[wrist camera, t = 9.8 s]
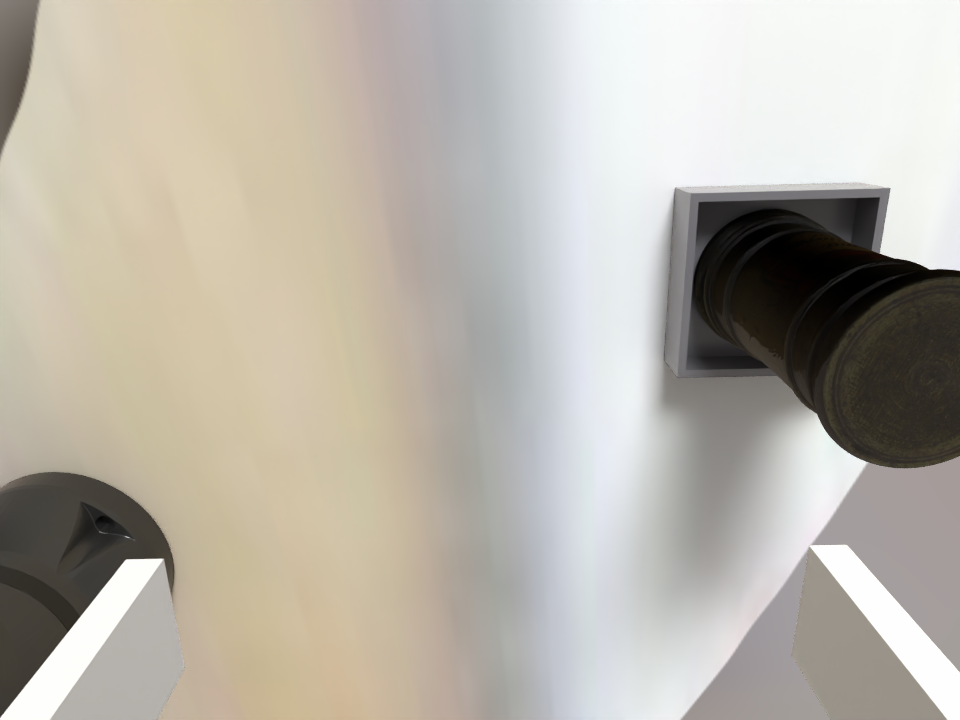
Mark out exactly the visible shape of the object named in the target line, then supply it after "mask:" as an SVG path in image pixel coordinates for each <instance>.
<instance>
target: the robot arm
mask: <svg viewBox="0 0 960 720" xmlns="http://www.w3.org/2000/svg"><path fill="white" fill-rule="evenodd" d="M173 576H174V569H173V560H172V555H171V551H170V548H169V546H168V543H167V541H166V539H165V537H164V535H163V533H162V531H161V530H160V528H159V526H158V525H157V524H156V522H155V521H154V520H153V519H152V517H151V516H150V515H149V514H148V513H147V512H146V511H145V510H144V509H143V508H142V507H141V506H140V505H139V504H138V503H137V502H135V501H134V500H133V499H131V498H130V497H129V496H127V495H126V494H124V493H123V492H121V491H119V490H118V489H116V488H114V487H112V486H110V485H108V484H106V483H103V482H101V481H99V480H96V479H93V478H89V477H86V476H82V475H77V474H71V473H61V472H48V473H38V474H33V475H28V476H25V477H22V478H19V479H16V480H14V481H12V482H10V483H8V484H6V485H5V486H3V487H2V488H0V720H158V718H159V716H160V714H161V712H162V710H163V708H164V706H165V704H166V702H167V701H168V699H169V697H170V695H171V693H172V691H173V689H174V687H175V685H176V684H177V682H178V680H179V678H180V676H181V674H182V672H183V670H184V668H185V664H184V659H183V654H182V649H181V644H180V639H179V634H178V629H177V623H176V618H175V613H174V608H173V603H172V598H171V593H170V592H171V589H172V584H173ZM792 656H793V658H794V660H795V661H796V663H797V664H798V666H799V668H800V670H801V671H802V673H803V675H804V676H805V678H806V680H807V681H808V683H809V685H810V686H811V688H812V690H813V691H814V693H815V695H816V696H817V698H818V700H819V701H820V703H821V705H822V706H823V708H824V710H825V711H826V713H827V715H828V716H829V718H830V720H960V672H959V671H958V670H957V669H956V668H955V667H954V666H953V664H952V663H951V662H950V661H949V660H948V659H947V658H946V656H944V654H943V653H942V652H941V651H940V650H939V649H938V648H937V646H936V645H935V644H934V643H933V642H932V641H931V640H930V638H929V637H928V636H927V635H926V634H925V633H924V632H923V631H922V629H921V628H920V627H919V626H918V625H917V624H916V623H915V621H914V620H913V619H912V618H911V617H910V616H909V615H908V614H907V612H906V611H905V610H904V609H903V608H902V607H901V606H900V605H899V603H897V601H896V600H895V599H894V598H893V597H892V595H891V594H890V593H889V592H888V591H887V590H886V589H885V588H884V586H883V585H882V584H881V583H880V582H879V581H878V580H877V579H876V578H875V576H874V575H873V574H872V573H871V572H870V571H869V569H868V568H867V567H866V566H865V565H864V564H863V563H862V562H861V561H860V559H859V558H858V557H857V556H856V555H855V554H854V553H853V551H852V550H851V549H850V548H849V547H848V546H847V545H824V546H823V545H821V546H820V545H817V546H809V550H808V556H807V563H806V569H805V575H804V581H803V587H802V594H801V599H800V606H799V612H798V618H797V624H796V630H795V636H794V643H793V649H792Z"/></svg>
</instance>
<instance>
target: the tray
mask: <svg viewBox="0 0 960 720" xmlns="http://www.w3.org/2000/svg"><path fill="white" fill-rule="evenodd" d="M889 193H890V188H887V187H881V186H875V185H869V184H864V183H833V184H795V185H757V186H718V187H680V188H675V202H674V217H673V232H672V248H671V263H670V278H669V293H668V308H667V324H666V339H665V354H664V360H665V361H666V363H667V364H668V366H669V367H670V368H671V370H672V371H673V372H674V374H675V375H676V377H677V378H688V377H736V376H777V375H776V374H775V373H774V372H773V371H772V370H771V369H770V368H769V367H767V366H766V365H765V364H764V363H763V362H762V361H760V360H757V359H755V358H754V357H752V356H750V355H749V354H748V353H746V352H745V351H744V350H742V349H740V348H738V347H736V346H734V345H732V344H731V343H730V342H728V341H726V340H725V339H723V338H721V337H720V336H719V335H717V334H716V333H715V332H714V331H713V330H712V329H711V328H710V327H709V326H708V324H707V323H706V322H705V321H704V319H703V317H702V316H701V314H700V311H699V309H698V307H697V303H696V299H695V293H694V277H695V271H696V267H697V263H698V261H699V258H700V256H701V254H702V252H703V250H704V248H705V246H706V245H707V243H708V242H709V241H710V240H711V238H712V237H713V236H714V235H715V234H716V233H717V232H718V231H719V230H720V229H721V228H723V227H724V226H725V225H727V224H728V223H730V222H731V221H733V220H735V219H736V218H738V217H740V216H743V215H745V214H748V213H751V212H754V211H758V210H764V209H784V210H789V211H793V212H796V213H799V214H802V215H804V216H806V217H808V218H809V219H811V220H813V221H815V222H817V223H818V224H820V225H822V226H823V227H824V228H825V229H827V230H828V231H829V232H832V233H834V234H836V235H838V236H839V237H841V238H842V239H843V240H845V241H846V242H849V243H852V244H854V245H857V246H860V247H863V248H866V249H869V250H871V251H874V252H877V253H880V247H881V241H882V235H883V229H884V223H885V217H886V211H887V205H888V199H889Z"/></svg>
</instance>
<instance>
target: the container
mask: <svg viewBox="0 0 960 720" xmlns="http://www.w3.org/2000/svg"><path fill="white" fill-rule="evenodd" d="M694 293H695V299H696V303H697V307H698V309H699V311H700V314H701V316H702V317H703V319H704V321H705V322H706V323H707V324H708V326H709V327H710V328H711V329H712V330H713V331H714V332H715V333H716V334H717V335H719V336H720V337H721V338H723V339H725V340H726V341H728V342H730V343H731V344H732V345H734V346H736V347H738V348H740V349H742V350H744V351H745V352H746V353H748V354H749V355H750V356H752V357H754V358H755V359H757V360H760V361H762V362H763V363H764V364H765V365H766V366H767V367H769V368H770V369H771V370H772V371H773V372H774V373H775V374H776V375H777V376H779V377H780V378H781V379H782V380H783V381H784V382H785V383H786V384H787V385H788V386H789V387H790V388H791V389H792V390H793V391H794V393H795V394H796V396H797V397H798V398H799V399H800V401H801V402H802V403H803V404H804V405H806V406H807V407H808V408H809V409H811V410H812V411H814V412H815V413H817V414H818V417H819V419H820V421H821V424H822V425H823V427H824V429H825V430H826V432H827V433H828V435H829V436H830V437H831V438H832V439H833V440H834V441H835V442H836V443H837V444H838V445H839V446H840V447H841V448H843V449H844V450H845V451H847V452H848V453H850V454H852V455H853V456H855V457H857V458H859V459H861V460H864V461H866V462H869V463H873V464H876V465H880V466H886V467H892V468H918V467H925V466H930V465H935V464H938V463H942V462H945V461H948V460H951V459H954V458H956V457H958V456H960V271H956V270H945V269H936V270H929V269H928V268H926V267H924V266H922V265H919V264H917V263H914V262H911V261H907V260H901V259H894V258H891V257H888V256H885V255H882V254H879V253H877V252H874V251H871V250H869V249H866V248H863V247H860V246H857V245H854V244H852V243H849V242H846V241H845V240H843V239H842V238H841V237H839V236H838V235H836V234H834V233H832V232H829V231H828V230H827V229H825V228H824V227H823V226H822V225H820V224H818V223H817V222H815V221H813V220H811V219H809V218H808V217H806V216H804V215H802V214H799V213H796V212H793V211H789V210H784V209H764V210H758V211H754V212H751V213H748V214H745V215H743V216H740V217H738V218H736V219H735V220H733V221H731V222H730V223H728V224H727V225H725V226H724V227H723V228H721V229H720V230H719V231H718V232H717V233H716V234H715V235H714V236H713V237H712V238H711V240H710V241H709V242H708V243H707V245H706V246H705V248H704V250H703V252H702V254H701V256H700V258H699V261H698V263H697V267H696V271H695V277H694Z"/></svg>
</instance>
